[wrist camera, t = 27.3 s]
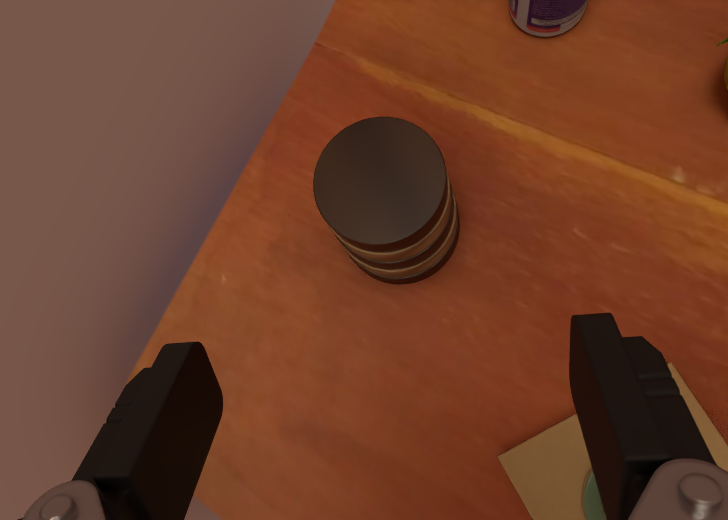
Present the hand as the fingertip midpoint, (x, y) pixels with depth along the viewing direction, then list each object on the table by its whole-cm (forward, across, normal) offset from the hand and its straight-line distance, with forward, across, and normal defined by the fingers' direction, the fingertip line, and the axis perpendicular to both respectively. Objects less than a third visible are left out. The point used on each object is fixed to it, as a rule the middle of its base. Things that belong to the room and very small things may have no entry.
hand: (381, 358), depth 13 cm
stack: (+26, +2, +12) cm, 29 cm away
